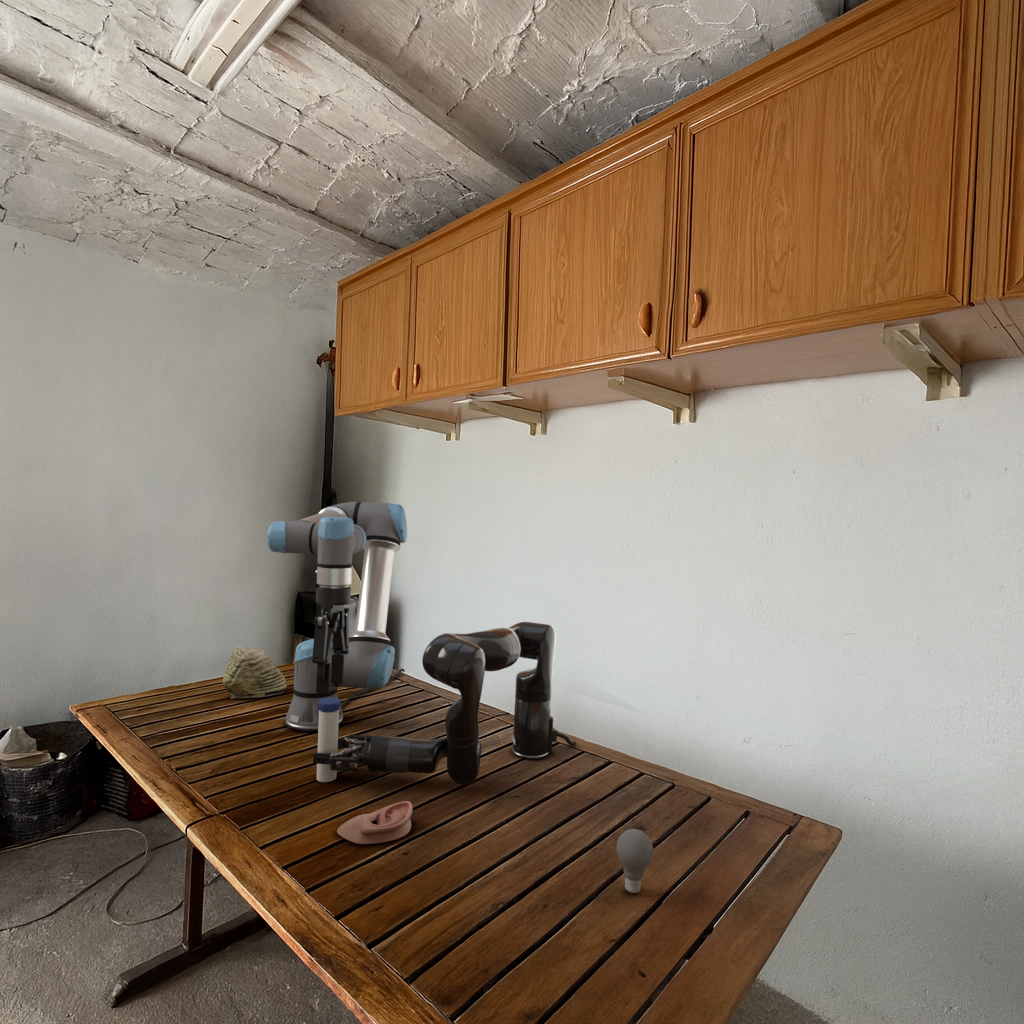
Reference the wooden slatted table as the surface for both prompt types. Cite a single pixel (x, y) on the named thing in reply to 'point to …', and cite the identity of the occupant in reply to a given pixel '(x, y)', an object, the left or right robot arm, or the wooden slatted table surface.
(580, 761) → the wooden slatted table surface
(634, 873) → the light bulb
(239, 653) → the fossil
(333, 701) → the lid
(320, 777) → the white cylindrical bottle
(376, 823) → the anatomical model
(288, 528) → the left robot arm
